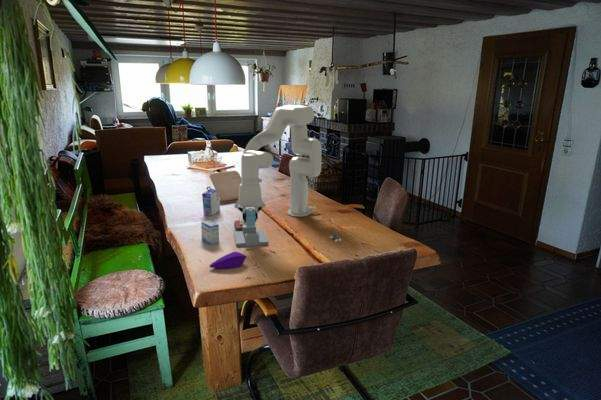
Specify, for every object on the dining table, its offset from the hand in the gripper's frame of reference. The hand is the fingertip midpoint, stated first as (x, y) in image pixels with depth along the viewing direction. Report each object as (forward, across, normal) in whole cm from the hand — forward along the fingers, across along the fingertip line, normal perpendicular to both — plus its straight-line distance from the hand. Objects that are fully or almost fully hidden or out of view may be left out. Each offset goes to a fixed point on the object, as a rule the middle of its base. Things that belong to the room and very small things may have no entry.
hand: (250, 220), depth 181 cm
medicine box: (+10, +18, -1) cm, 20 cm away
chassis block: (+9, 0, 0) cm, 9 cm away
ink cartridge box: (+9, +17, -42) cm, 46 cm away
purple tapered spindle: (+10, +11, +26) cm, 30 cm away
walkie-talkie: (+10, +2, -18) cm, 20 cm away
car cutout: (+10, -40, +10) cm, 42 cm away
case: (+9, +7, -70) cm, 71 cm away
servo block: (+2, 0, 0) cm, 2 cm away
